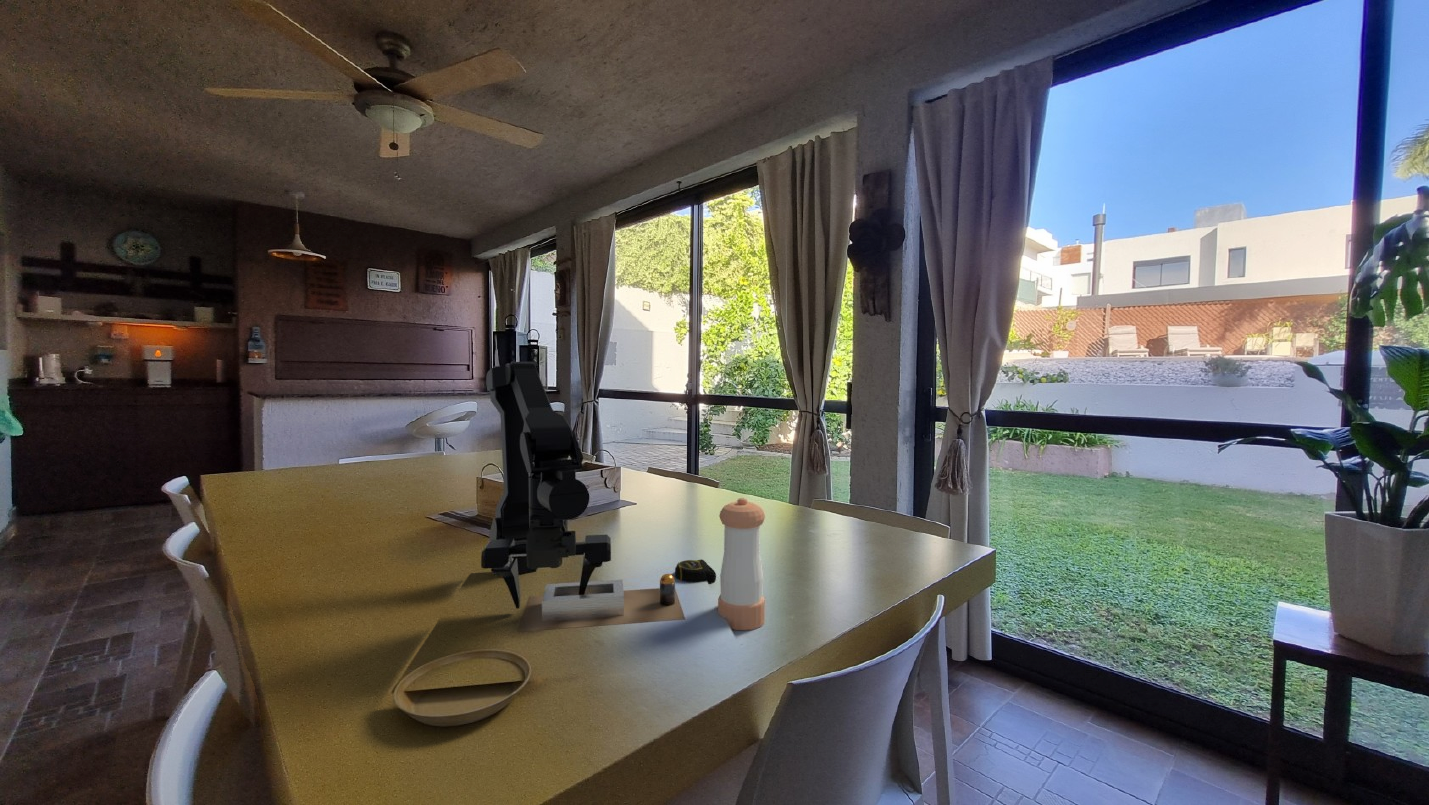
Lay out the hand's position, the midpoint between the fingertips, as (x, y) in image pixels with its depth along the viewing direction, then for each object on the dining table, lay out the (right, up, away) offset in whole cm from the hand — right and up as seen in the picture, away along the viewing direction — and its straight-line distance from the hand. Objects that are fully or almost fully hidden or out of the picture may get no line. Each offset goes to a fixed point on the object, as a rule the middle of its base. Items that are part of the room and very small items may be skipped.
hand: (549, 605), depth 88 cm
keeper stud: (+18, -1, +4) cm, 18 cm away
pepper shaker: (+30, -3, +1) cm, 30 cm away
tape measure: (+22, -2, +17) cm, 28 cm away
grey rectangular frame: (+5, -1, +1) cm, 5 cm away
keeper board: (+8, -2, +2) cm, 9 cm away
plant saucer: (-4, -4, -21) cm, 22 cm away
